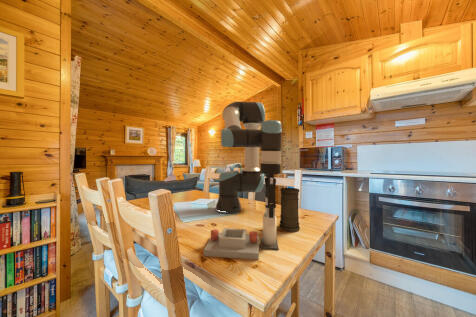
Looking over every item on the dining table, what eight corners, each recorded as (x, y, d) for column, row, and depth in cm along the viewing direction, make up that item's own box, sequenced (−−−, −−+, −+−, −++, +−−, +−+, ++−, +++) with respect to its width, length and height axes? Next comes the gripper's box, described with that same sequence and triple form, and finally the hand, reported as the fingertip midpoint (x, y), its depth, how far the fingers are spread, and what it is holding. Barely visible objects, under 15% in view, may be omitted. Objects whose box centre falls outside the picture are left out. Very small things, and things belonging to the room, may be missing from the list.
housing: (213, 237, 76) (213, 224, 76) (258, 239, 74) (258, 227, 74) (203, 255, 62) (203, 240, 62) (258, 259, 60) (258, 244, 60)
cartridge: (262, 239, 74) (262, 211, 73) (275, 239, 73) (275, 212, 73) (262, 245, 69) (263, 215, 68) (276, 246, 68) (277, 216, 68)
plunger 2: (249, 238, 69) (249, 231, 69) (257, 239, 69) (257, 231, 69) (248, 242, 66) (249, 234, 66) (257, 242, 66) (257, 234, 66)
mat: (261, 238, 75) (261, 237, 75) (276, 239, 74) (276, 238, 74) (261, 248, 67) (261, 247, 67) (278, 250, 66) (278, 248, 66)
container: (300, 232, 81) (301, 191, 81) (279, 231, 83) (280, 190, 83) (298, 225, 90) (299, 187, 90) (279, 223, 92) (279, 186, 91)
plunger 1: (211, 236, 70) (211, 229, 70) (219, 237, 70) (219, 229, 70) (209, 240, 68) (209, 232, 68) (217, 240, 67) (217, 232, 67)
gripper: (260, 161, 83) (259, 209, 84) (260, 164, 58) (259, 232, 59) (277, 161, 82) (276, 209, 83) (285, 165, 57) (284, 234, 58)
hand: (269, 219), depth 71 cm, fingers open, 13 cm apart
